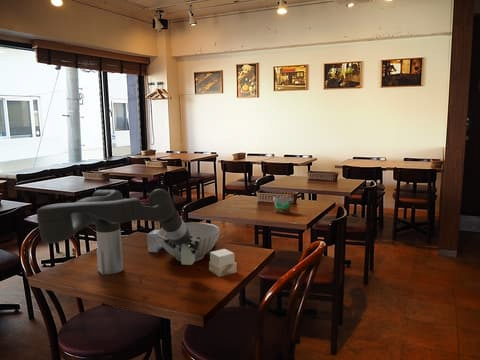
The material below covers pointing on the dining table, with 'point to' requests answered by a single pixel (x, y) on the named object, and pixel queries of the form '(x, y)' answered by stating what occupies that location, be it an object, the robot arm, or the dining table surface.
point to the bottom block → (223, 269)
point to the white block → (222, 257)
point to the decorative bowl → (201, 230)
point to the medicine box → (153, 241)
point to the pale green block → (187, 256)
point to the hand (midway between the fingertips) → (188, 251)
